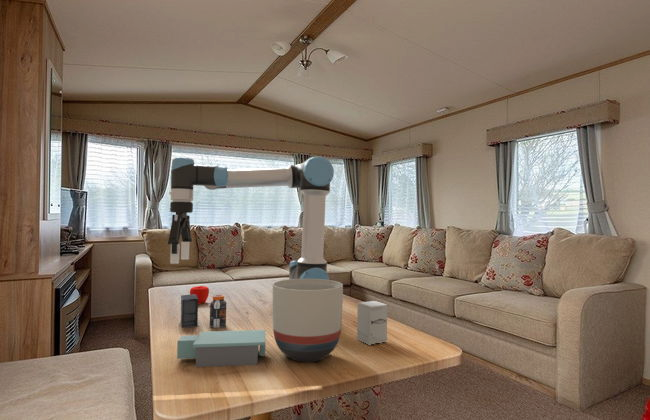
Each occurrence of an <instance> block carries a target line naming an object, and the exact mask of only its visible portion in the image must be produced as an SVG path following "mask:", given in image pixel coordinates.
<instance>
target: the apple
mask: <svg viewBox="0 0 650 420" xmlns="http://www.w3.org/2000/svg"><path fill="white" fill-rule="evenodd" d="M193 294H196V296H197V298H198V305H202V304H204V303H206V302H207V300H208V298H209V294H210V289H209V287H208V286H206V285H205V286H204V285H200V286H199V285H198V286H192V287H191V288H190V289H189V295H193Z"/></svg>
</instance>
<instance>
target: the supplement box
mask: <svg viewBox="0 0 650 420" xmlns="http://www.w3.org/2000/svg"><path fill="white" fill-rule="evenodd" d="M356 320H357V321H356V322H357V323H356V325H357V326H356V330H357V332H356V337H357V338H356V340H357V339H358V341H359V340H360V341H359V342H361V341H362V343H363V342H364V343H363V344H365V343H366V344H365V345H367V344H368V345H367V346H369V345H370V346H372V345H371V344H374V345H376V344H375V343H380V344H382V343H381V342H386V341H387V340H388V304H386V303H383V302H379V301H376V300H372V301H371V300H370V301H360V302H357V319H356ZM387 342H388V341H387Z"/></svg>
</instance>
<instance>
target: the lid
mask: <svg viewBox="0 0 650 420" xmlns="http://www.w3.org/2000/svg"><path fill="white" fill-rule="evenodd" d="M266 331H267V330H266V329H251V330H250V329H249V330H244V329H243V330H217V331H216V330H214V331H211V330H210V331H200V332H199V334H198V335H197V334H196V335H193V334H192V335H181V336H180V337H179V339H178V340H177V349H176V353H177V354H176V355H177V356H176V358H177V360H178V359H182V360H183V359H196V347H223V346H253V345H259V356H266Z"/></svg>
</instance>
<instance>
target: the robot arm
mask: <svg viewBox="0 0 650 420" xmlns="http://www.w3.org/2000/svg"><path fill="white" fill-rule="evenodd" d="M334 176H335V170H334V166H333V164H332V163H331V162H330V160H329V159H328V158H326V157H324V156H320V155H319V156H317V155H315V156H312V157H311V156H310V157H309V158H308V159H306V160H305V161H304V162H302V163H301V162H300V163H298V164H291V165H290V164H289V165H287V167H273V168H272V167H271V168H270V167H269V168H267V167H265V168H264V167H263V168H237V169H235V168H232V169H228V167H227V166H223V165H219V164H217V165H207V164H195V160H194V159H193V158H190V157H181V156H179V157H174V158H173V159H172V161H171V170H170V191H169V193H168V194H169V195H170V200H171V202H169V203H170V205H169V207H170V208H169V210H170V211H169V212H170V213H175V214H172V216H171V218H172V219H171V225H170V230H169V236H168V241H167V244H168V245H170V251H169V252H170V257H169V262H170V263H169V264H170V265H171V264H173V265H174V264H175V265H176V264H178V265H179V264H180V260H182V261H183V260H184V261H185V260H190V243H191V242H193V239H192V233H191V224H190V223H191V222H190V215H187V214H188V213H189V214H190V213H191V214H192V213H193V210H194V203H193V201H194V186H201V187H204V188H206V189H207V190H211V191H212V190H213V191H214V190H219V189H238V188H240V189H241V188H242V189H243V188H265V187H266V188H267V187H286V186H287V187H288V188H289V189H299V192H300V193H301V194H302V195H303V208H302V209H303V210H302V230H301V231H302V232H301V253H300V255H301V256H300V258H299V259H298V260H291V261H290V262H289V267H288V269H289V271H288V273H289V275H288V277H289V279H325V280H330V277H329V274H328V272H327V270H328V269H327V268H328V267H327V266H328V263H327V260H325V258H324V249H325V248H324V247H325V246H324V245H325V243H324V242H325V221H326V220H325V219H326V202H327V201H326V198H327V196H328V195H329V194H330V192H331V191H330V190H331V182H332V180H333V178H334ZM180 239H181V248H180ZM180 249H181V250H180ZM180 251H181V252H180ZM289 279H288V280H289Z"/></svg>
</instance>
